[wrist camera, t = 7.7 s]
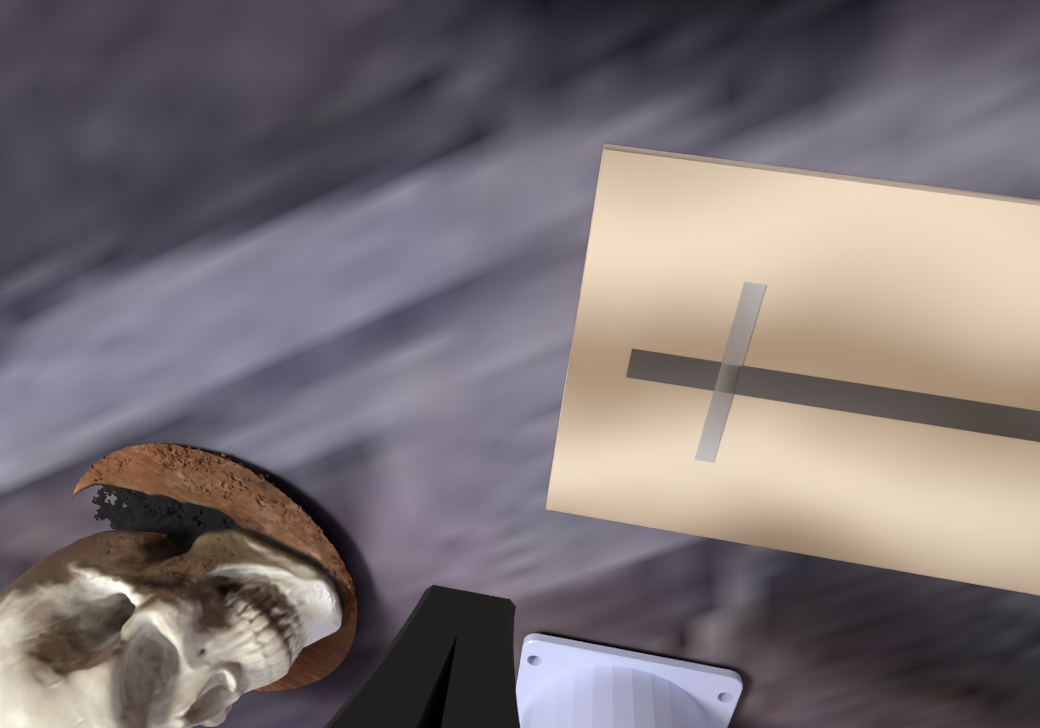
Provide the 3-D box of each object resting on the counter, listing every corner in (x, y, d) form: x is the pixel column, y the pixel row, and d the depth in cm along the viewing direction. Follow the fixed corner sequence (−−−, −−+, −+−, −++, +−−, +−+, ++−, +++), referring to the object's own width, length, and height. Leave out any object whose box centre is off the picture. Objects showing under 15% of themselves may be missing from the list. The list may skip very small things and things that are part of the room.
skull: (354, 462, 19) (249, 860, 15) (405, 513, 28) (349, 764, 24) (-5, 407, 19) (-201, 778, 15) (164, 476, 29) (70, 716, 25)
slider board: (1211, 582, 18) (1281, 638, 16) (551, 470, 19) (545, 509, 17) (1473, 255, 14) (1610, 279, 12) (604, 143, 15) (604, 149, 13)
